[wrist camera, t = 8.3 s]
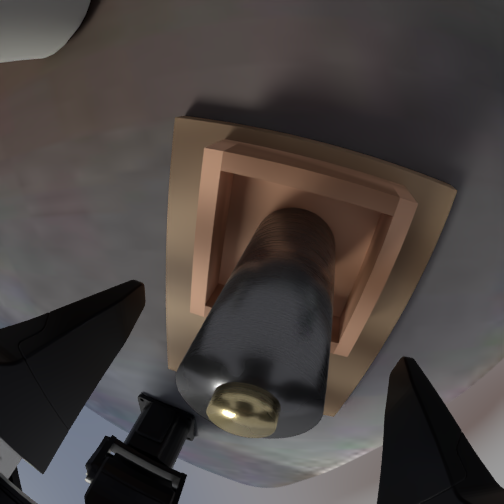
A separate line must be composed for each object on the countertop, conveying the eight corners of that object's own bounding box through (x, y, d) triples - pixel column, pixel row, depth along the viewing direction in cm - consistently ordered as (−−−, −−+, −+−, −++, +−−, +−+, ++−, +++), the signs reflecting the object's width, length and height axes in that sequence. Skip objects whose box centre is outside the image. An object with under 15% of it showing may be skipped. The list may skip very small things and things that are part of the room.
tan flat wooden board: (334, 407, 22) (330, 447, 19) (173, 360, 24) (152, 395, 21) (450, 184, 13) (482, 213, 9) (184, 115, 15) (141, 124, 11)
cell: (322, 289, 16) (295, 464, 8) (248, 269, 16) (170, 427, 8) (345, 220, 14) (347, 400, 6) (262, 198, 14) (162, 347, 6)
